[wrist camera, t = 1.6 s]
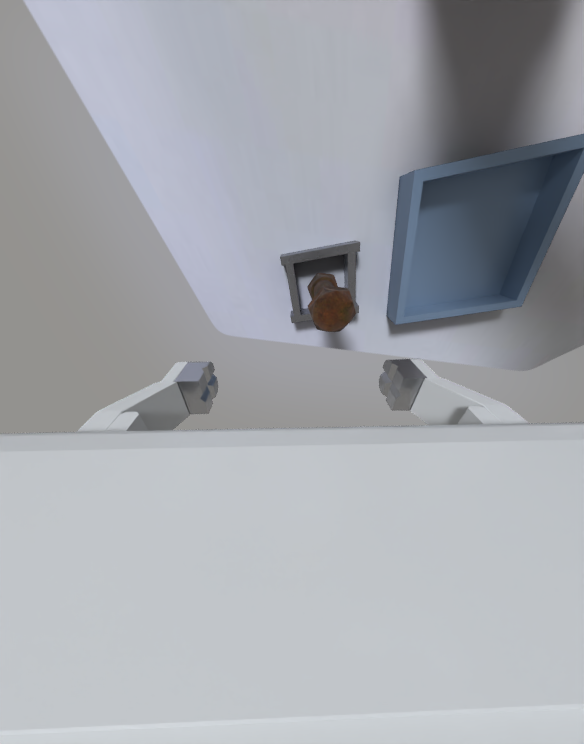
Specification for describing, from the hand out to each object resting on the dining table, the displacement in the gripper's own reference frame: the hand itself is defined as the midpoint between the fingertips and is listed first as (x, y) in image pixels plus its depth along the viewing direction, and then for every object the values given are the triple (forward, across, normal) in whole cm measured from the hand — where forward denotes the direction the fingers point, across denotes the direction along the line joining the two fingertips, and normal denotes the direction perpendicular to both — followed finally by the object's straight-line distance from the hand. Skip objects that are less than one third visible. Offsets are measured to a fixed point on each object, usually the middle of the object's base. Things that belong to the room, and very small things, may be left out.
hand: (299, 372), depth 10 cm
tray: (+30, -27, -3) cm, 41 cm away
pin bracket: (+31, -5, +2) cm, 32 cm away
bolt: (+31, -5, +2) cm, 32 cm away
